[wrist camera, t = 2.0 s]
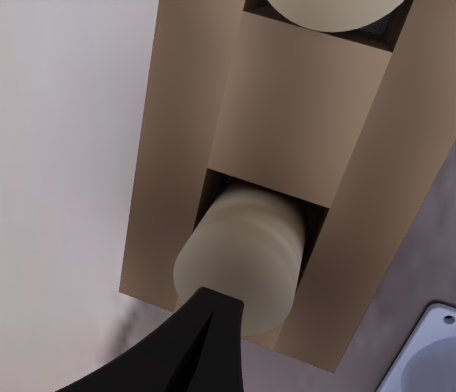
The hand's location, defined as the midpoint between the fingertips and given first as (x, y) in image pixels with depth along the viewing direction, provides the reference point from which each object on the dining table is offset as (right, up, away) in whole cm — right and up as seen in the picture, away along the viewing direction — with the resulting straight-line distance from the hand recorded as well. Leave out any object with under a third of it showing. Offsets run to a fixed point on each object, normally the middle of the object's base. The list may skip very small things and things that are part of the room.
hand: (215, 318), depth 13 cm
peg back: (+2, +3, +5) cm, 6 cm away
